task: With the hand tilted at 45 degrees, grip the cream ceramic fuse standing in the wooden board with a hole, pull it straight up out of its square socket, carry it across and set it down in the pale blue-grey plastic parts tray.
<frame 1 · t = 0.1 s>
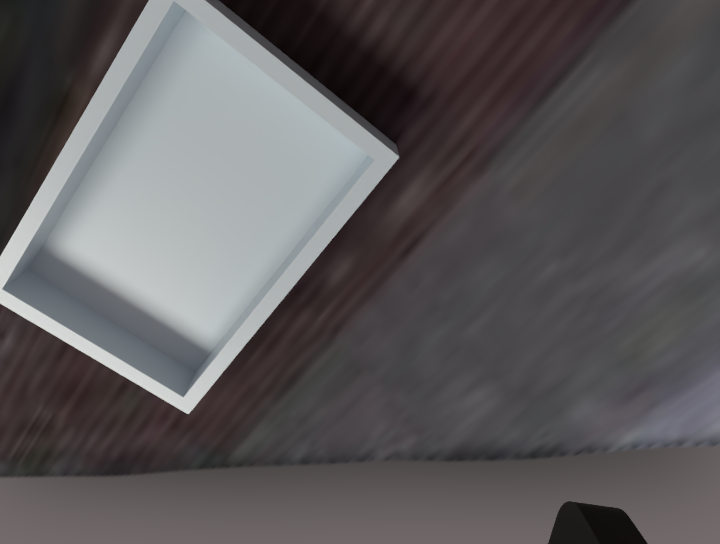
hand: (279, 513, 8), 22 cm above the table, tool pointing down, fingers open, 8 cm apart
parts tray: (196, 208, 30), on the table
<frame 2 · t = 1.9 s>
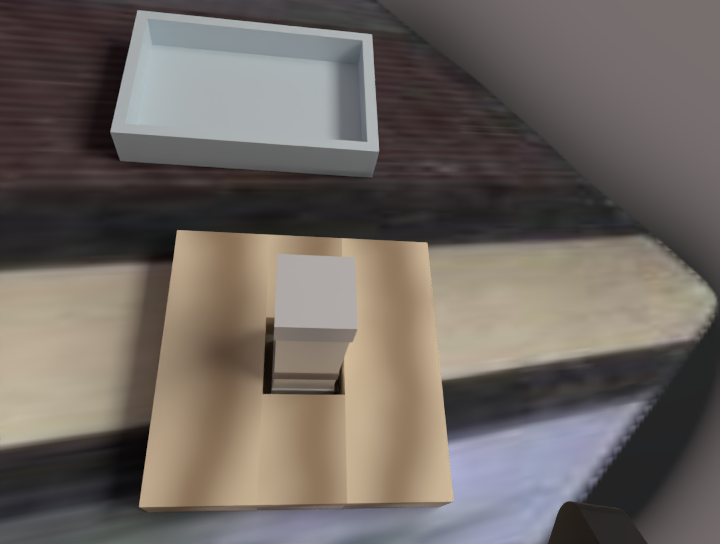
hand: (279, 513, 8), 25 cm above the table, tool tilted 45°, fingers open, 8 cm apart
parts tray: (254, 107, 44), on the table
fuse: (308, 336, 30), in the wooden board with hole
wooden board with hole: (302, 369, 35), on the table
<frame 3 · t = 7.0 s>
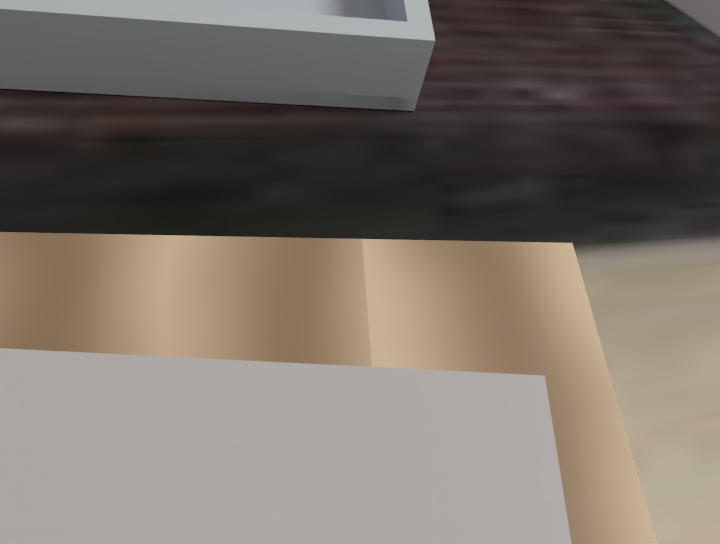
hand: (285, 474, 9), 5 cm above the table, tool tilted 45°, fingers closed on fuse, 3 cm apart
when the fingers open (7 cm above the table, at t = 13.6 s): fuse drops 2 cm, resting on parts tray.
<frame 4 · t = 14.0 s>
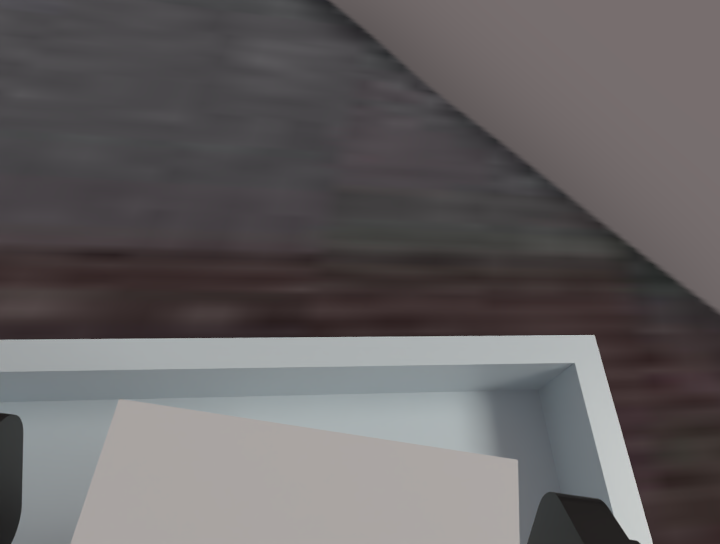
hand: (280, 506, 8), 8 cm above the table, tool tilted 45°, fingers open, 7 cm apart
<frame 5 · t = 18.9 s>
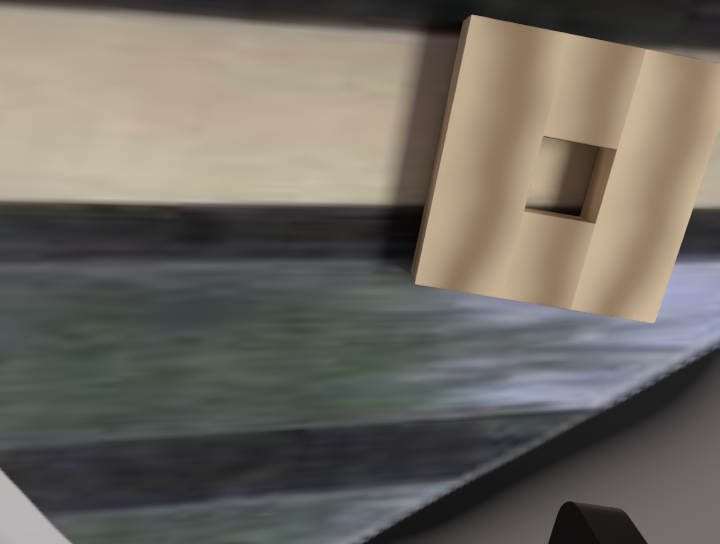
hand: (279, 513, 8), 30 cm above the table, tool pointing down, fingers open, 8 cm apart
wooden board with hole: (555, 176, 37), on the table
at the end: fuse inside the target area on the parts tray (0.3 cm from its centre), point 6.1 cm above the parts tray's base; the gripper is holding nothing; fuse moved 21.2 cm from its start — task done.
